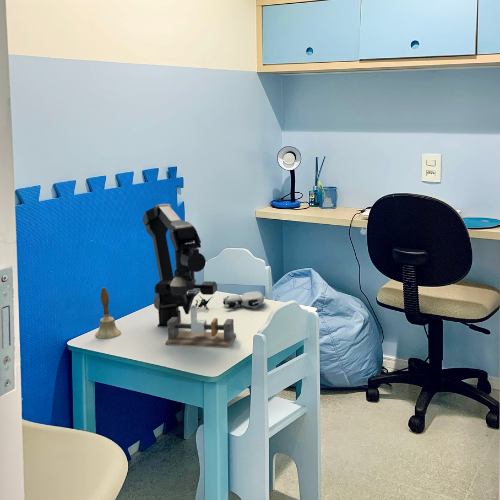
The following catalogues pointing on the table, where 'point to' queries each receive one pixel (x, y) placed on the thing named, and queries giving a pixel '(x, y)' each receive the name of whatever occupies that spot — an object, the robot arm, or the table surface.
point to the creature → (202, 303)
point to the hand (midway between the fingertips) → (187, 313)
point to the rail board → (201, 339)
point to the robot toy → (244, 300)
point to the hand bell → (107, 320)
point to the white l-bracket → (196, 322)
